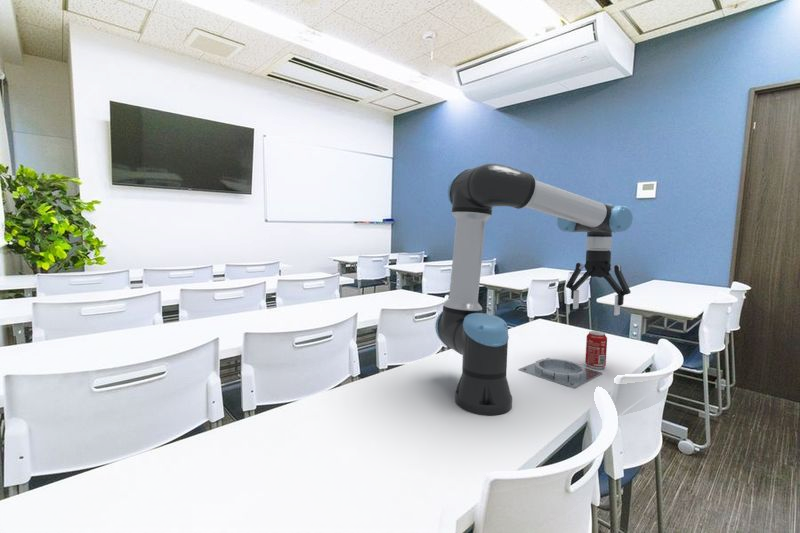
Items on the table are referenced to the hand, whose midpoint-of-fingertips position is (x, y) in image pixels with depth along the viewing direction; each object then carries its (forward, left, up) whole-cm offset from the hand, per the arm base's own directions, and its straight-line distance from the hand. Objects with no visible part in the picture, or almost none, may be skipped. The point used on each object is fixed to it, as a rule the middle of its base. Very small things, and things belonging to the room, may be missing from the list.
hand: (595, 311), depth 133 cm
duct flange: (-15, +4, -19) cm, 25 cm away
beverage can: (0, -1, -19) cm, 19 cm away
